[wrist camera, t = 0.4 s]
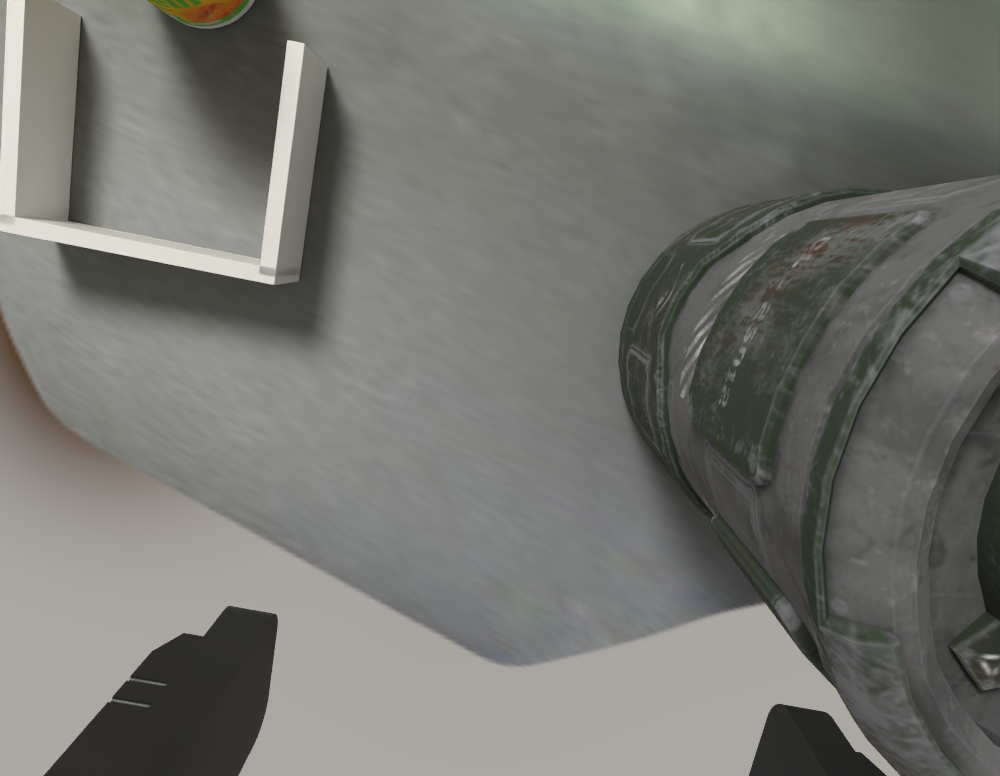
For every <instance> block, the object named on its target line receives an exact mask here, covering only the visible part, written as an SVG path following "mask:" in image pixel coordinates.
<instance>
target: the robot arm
mask: <svg viewBox="0 0 1000 776" xmlns="http://www.w3.org/2000/svg"><path fill="white" fill-rule="evenodd" d="M277 625H278V619H277V615H276V614H272V613H266V612H261V611H255V610H249V609H244V608H238V607H233V606H228V607H227V608H226V609H225V610H224V611H223V612H222V613H221V615H220V616H219V617H218V619H217V620H216V621H215V622H214V624H213V625H212V626H211V628H210V629H209V630H208V631H207V633H206V634H205V635H204V637H202V636H197V635H192V634H186V633H183V634H182V635H180V636H178V637H176V638H174V639H173V640H171V641H169V642H168V643H166V644H164V645H162V646H161V647H159V648H157V649H155V650H154V651H152V652H151V653H150V654H149V656H148V657H147V658H146V659H145V660H144V661H143V662H142V664H141V665H140V666H139V667H138V668H137V669H136V670H135V672H134V673H133V674H132V675H131V678H130V680H129V681H126V682H125V683H124V684H123V685H122V687H121V688H120V689H119V690H118V691H117V692H116V693H115V695H114V696H113V698H112V700H111V702H108V703H107V704H106V705H105V706H104V707H103V708H102V709H101V711H100V712H99V713H98V714H97V715H96V716H95V718H94V719H93V720H92V721H91V722H90V723H89V724H88V726H87V727H86V728H85V729H84V730H83V731H82V733H81V734H80V735H79V736H78V737H77V738H76V739H75V740H74V742H73V743H72V744H71V745H70V746H69V747H68V749H67V750H66V751H65V752H64V753H63V754H62V755H61V756H60V758H59V759H58V760H57V761H56V762H55V763H54V764H53V766H52V767H51V768H50V769H49V770H48V771H47V773H46V774H45V775H44V776H238V775H239V773H240V771H241V769H242V767H243V765H244V763H245V761H246V759H247V757H248V755H249V753H250V751H251V749H252V747H253V745H254V743H255V741H256V739H257V737H258V734H259V731H260V728H261V725H262V722H263V719H264V715H265V712H266V707H267V702H268V696H269V689H270V680H271V673H272V665H273V657H274V650H275V642H276V634H277ZM749 776H886V775H885V774H884V773H883V772H882V771H881V770H880V769H879V768H877V767H876V766H875V765H874V764H873V763H872V762H871V761H870V760H869V759H867V758H866V757H865V756H864V755H863V754H862V753H860V752H855V751H854V749H853V748H852V746H851V745H850V743H849V742H848V740H847V739H846V737H845V736H844V735H843V733H842V732H841V730H840V729H839V727H838V726H837V724H836V723H835V721H834V720H833V718H832V717H831V716H830V715H829V714H828V713H826V712H822V711H816V710H811V709H805V708H799V707H793V706H788V705H782V704H777V705H775V706H773V708H772V709H771V710H770V712H769V714H768V717H767V720H766V723H765V727H764V730H763V733H762V736H761V739H760V742H759V745H758V749H757V752H756V755H755V758H754V761H753V764H752V767H751V771H750V774H749Z"/></svg>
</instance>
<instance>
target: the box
mask: <svg viewBox="0 0 1000 776" xmlns="http://www.w3.org/2000/svg"><path fill="white" fill-rule="evenodd" d="M80 24H81V16H80V15H79V14H77V13H75V12H73V11H71V10H69V9H68V8H66V7H64V6H62V5H60V4H59V3H57V2H55V1H53V0H7V18H6V41H5V65H4V89H3V113H2V136H1V160H0V231H4V232H9V233H14V234H19V235H24V236H29V237H34V238H39V239H44V240H49V241H54V242H59V243H64V244H69V245H74V246H79V247H84V248H90V249H95V250H100V251H105V252H110V253H115V254H120V255H125V256H130V257H135V258H140V259H145V260H150V261H155V262H160V263H165V264H170V265H175V266H181V267H186V268H191V269H196V270H201V271H206V272H211V273H216V274H221V275H226V276H231V277H236V278H241V279H246V280H251V281H256V282H261V283H267V284H272V285H278V284H285V283H292V282H299V277H300V270H301V262H302V255H303V247H304V240H305V232H306V225H307V217H308V210H309V202H310V195H311V188H312V180H313V173H314V165H315V158H316V150H317V143H318V135H319V128H320V120H321V113H322V105H323V98H324V91H325V83H326V76H327V68H328V67H327V66H326V65H325V64H324V63H323V62H322V61H321V60H320V59H319V58H318V57H317V56H316V55H315V54H314V53H313V52H312V51H311V50H310V49H309V47H308V46H307V45H306V44H305V43H300V42H295V41H290V40H287V47H286V56H285V64H284V72H283V80H282V89H281V97H280V105H279V113H278V121H277V130H276V138H275V146H274V154H273V163H272V171H271V179H270V187H269V195H268V204H267V212H266V220H265V228H264V237H263V245H262V253H261V259H258V258H253V257H248V256H243V255H238V254H233V253H228V252H223V251H218V250H213V249H208V248H203V247H198V246H193V245H188V244H183V243H178V242H173V241H168V240H162V239H157V238H152V237H147V236H142V235H137V234H132V233H127V232H122V231H117V230H112V229H107V228H102V227H97V226H92V225H87V224H82V223H77V222H72V221H68V215H69V199H70V183H71V167H72V151H73V136H74V120H75V104H76V88H77V72H78V56H79V40H80Z"/></svg>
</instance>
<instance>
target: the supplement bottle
mask: <svg viewBox="0 0 1000 776" xmlns="http://www.w3.org/2000/svg"><path fill="white" fill-rule="evenodd" d="M147 1H149V2H150V3H152V4H153V5H155V6H156V7H157V8H159V9H160V10H161V11H163V12H164V13H166V14H167V15H169V16H170V17H172V18H174V19H175V20H177V21H179V22H181V23H183V24H186V25H188V26H192V27H196V28H203V29H212V28H219V27H223V26H226V25H228V24H231V23H232V22H234V21H236V20H237V19H239V18H240V17H242V16H243V15H244V14H245V13H246V12H247V11H248V10H249V8H250V7H251V6H252V4H253V3H254V1H255V0H147Z"/></svg>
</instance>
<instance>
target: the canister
mask: <svg viewBox="0 0 1000 776" xmlns="http://www.w3.org/2000/svg"><path fill="white" fill-rule="evenodd" d="M618 362H619V370H620V378H621V386H622V392H623V395H624V398H625V401H626V404H627V407H628V410H629V413H630V415H631V417H632V418H633V420H634V422H635V424H636V425H637V427H638V429H639V430H640V432H641V434H642V436H643V438H644V439H645V440H646V442H647V443H648V444H649V446H650V447H651V448H652V450H653V451H654V452H655V454H656V455H657V457H658V458H659V459H660V461H661V462H662V463H663V465H664V466H665V467H666V469H667V470H668V471H669V473H670V474H671V475H672V477H673V478H674V479H675V481H676V482H677V483H678V485H679V486H680V487H681V488H682V490H683V491H684V492H685V493H686V495H687V496H688V497H689V499H690V500H691V501H692V502H693V504H694V505H695V506H696V507H697V508H698V509H699V510H701V511H702V512H703V513H704V514H705V515H707V516H708V517H709V518H710V519H711V523H710V524H711V526H712V527H713V529H714V531H715V533H716V534H717V536H718V538H719V539H720V541H721V543H722V544H723V546H724V547H725V549H726V550H727V552H728V553H729V554H730V556H731V557H732V558H733V560H734V561H735V562H736V564H737V565H738V566H739V568H740V569H741V571H742V572H743V573H744V575H745V576H746V577H747V579H748V580H749V581H750V583H751V584H752V585H753V587H754V588H755V590H756V591H757V592H758V594H759V595H760V596H761V598H762V599H763V600H764V602H765V603H766V604H767V606H768V607H769V608H770V610H771V611H772V613H773V614H774V615H775V616H776V618H777V619H778V621H779V622H780V623H781V625H782V626H783V627H784V629H785V630H786V632H787V633H788V634H789V636H790V637H791V638H792V640H793V641H794V642H795V644H796V645H797V646H798V648H799V649H800V650H801V652H802V653H803V654H804V655H805V656H806V658H807V659H808V660H809V661H810V662H811V663H812V664H813V665H814V666H815V667H816V668H817V669H818V670H819V671H820V672H821V673H822V674H823V675H824V676H825V678H826V679H827V680H828V681H829V682H830V683H831V684H832V685H833V686H834V687H835V688H836V690H837V691H838V693H839V695H840V697H841V698H842V700H843V702H844V703H845V705H846V707H847V709H848V710H849V712H850V714H851V716H852V717H853V719H854V721H855V722H856V724H857V725H858V727H859V728H860V729H861V731H862V732H863V734H864V735H865V737H866V738H867V740H868V741H869V742H870V743H871V744H872V745H873V746H874V747H875V749H876V750H877V751H878V752H879V753H880V754H881V755H882V756H883V757H884V758H885V759H886V760H887V762H888V763H889V764H890V765H891V766H892V767H893V768H894V769H895V770H896V771H897V772H898V773H899V774H900V776H1000V175H994V176H987V177H981V178H975V179H968V180H962V181H955V182H949V183H943V184H936V185H930V186H924V187H917V188H911V189H904V190H898V191H892V190H882V189H864V188H842V189H834V190H827V191H820V192H815V193H810V194H805V195H799V196H794V197H789V198H784V199H779V200H773V201H768V202H763V203H758V204H753V205H747V206H744V207H741V208H736V209H733V210H731V211H728V212H725V213H722V214H720V215H717V216H714V217H712V218H709V219H707V220H705V221H704V222H702V223H700V224H699V225H697V226H695V227H694V228H692V229H690V230H689V231H687V232H685V233H684V234H682V235H681V236H680V237H679V238H678V239H676V240H675V241H674V242H673V243H672V244H671V245H670V246H669V247H668V248H666V249H665V250H664V251H663V252H662V253H661V254H660V255H659V257H658V258H657V259H656V261H655V262H654V263H653V265H652V266H651V267H650V269H649V270H648V271H647V272H646V274H645V275H644V276H643V278H642V279H641V281H640V283H639V285H638V287H637V289H636V291H635V293H634V295H633V297H632V299H631V301H630V303H629V305H628V308H627V312H626V315H625V319H624V323H623V326H622V330H621V333H620V347H619V360H618Z"/></svg>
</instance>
